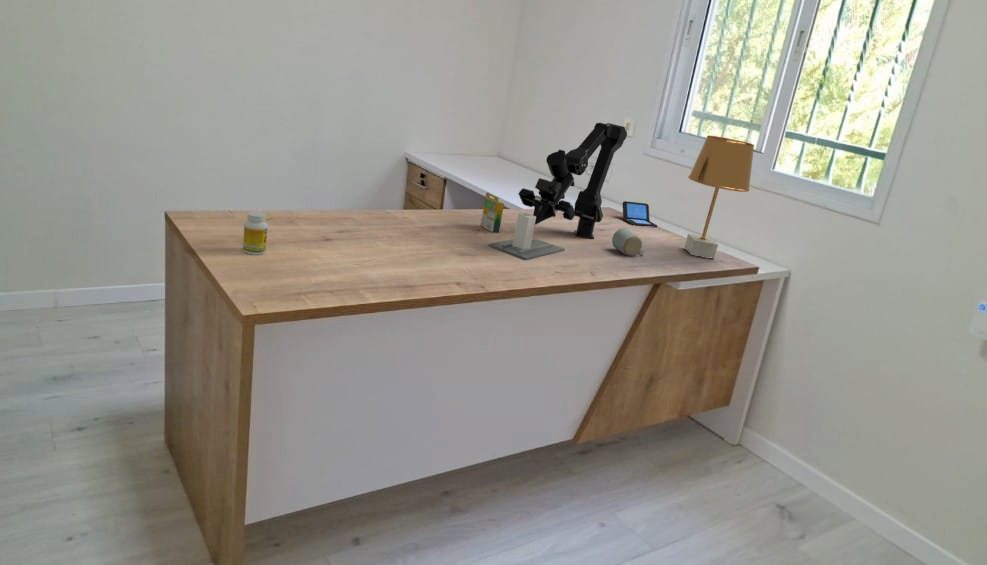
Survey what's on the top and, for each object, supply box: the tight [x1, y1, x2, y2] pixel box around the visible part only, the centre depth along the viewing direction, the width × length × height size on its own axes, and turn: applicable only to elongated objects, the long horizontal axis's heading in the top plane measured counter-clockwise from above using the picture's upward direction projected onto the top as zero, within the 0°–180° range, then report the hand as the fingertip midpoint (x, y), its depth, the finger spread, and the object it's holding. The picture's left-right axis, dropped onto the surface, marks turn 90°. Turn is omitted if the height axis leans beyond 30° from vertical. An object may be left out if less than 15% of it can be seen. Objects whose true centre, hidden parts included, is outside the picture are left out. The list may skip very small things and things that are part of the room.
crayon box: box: [480, 191, 505, 233], centre depth 227 cm, size 7×3×12 cm, turn 34°
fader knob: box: [512, 212, 536, 249], centre depth 210 cm, size 4×4×10 cm
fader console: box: [487, 236, 566, 261], centre depth 214 cm, size 22×14×1 cm, turn 143°
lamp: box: [684, 135, 755, 259], centre depth 240 cm, size 21×21×41 cm
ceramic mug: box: [611, 227, 646, 257], centre depth 229 cm, size 11×8×8 cm
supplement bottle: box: [242, 211, 268, 256], centre depth 167 cm, size 5×5×10 cm
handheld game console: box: [622, 200, 658, 228], centre depth 278 cm, size 12×11×7 cm
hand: (532, 224), depth 212 cm, fingers closed
